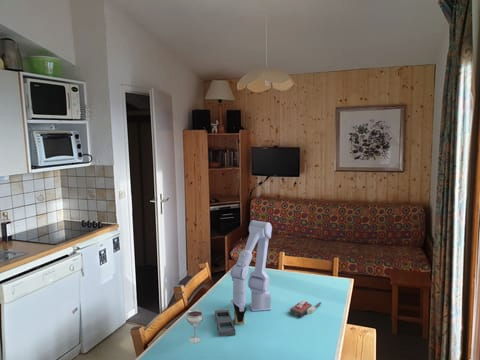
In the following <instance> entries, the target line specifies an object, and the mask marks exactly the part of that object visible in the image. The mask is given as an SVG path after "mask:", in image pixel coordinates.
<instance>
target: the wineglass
mask: <svg viewBox="0 0 480 360" xmlns="http://www.w3.org/2000/svg"><path fill="white" fill-rule="evenodd" d="M203 313H204V312H203V311H202V310H201V309H199V308H198V309H195V308H194V309H189V310H188V311H187V312H186V314H187V316H186V321H187V324H189V325H190V326H193V331H194V332H193V333H194V336H192V337H190V338H189V343H191V344H197V342H198V343H200V342H201V341H200V338H201V337H200V336H196V334H197V333H196V331H197V326H198V325H200V324H201V323H202V322H203V319H204V317H203ZM199 341H200V342H199Z"/></svg>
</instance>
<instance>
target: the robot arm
mask: <svg viewBox="0 0 480 360" xmlns="http://www.w3.org/2000/svg"><path fill="white" fill-rule="evenodd" d="M272 231H273V226H272V224H271V223H270V222H267V221H259V220H255V219H252V220H251V221H250V222H249V226H248V232H249V235H248V238H247V242H246V245H245V248H244V250H241V252H240V254H239V256H238V259H237V261H236V263H235V264H234V265H233V266H232V267H231V269H230V276H231V281H232V282H233V283H232V299H230V304H232V305H233V309H234V310H235V311H236V314H237V320H238V322H243V318H244V319H245V314H246V313H247V311H248V307H245V305H246V303H247V299H246V298H247V297H246V291H247V290H246V286H247V287H248V288H249V289H250V290H249V291H251V292H250V293H251V298H250V300H251V302H250V303H249V306H250V309H251V311H252V312H260V311H271V310H272V308H271V306H272V305H271V301H272V299H271V297H272V296H271V291H270V286H271V283H270V276H269V275H268V273H267V272H266V264H267V256H268V247H269V242H270V241H269V239H272ZM256 244H257V247H256V248H257V249H256V256H255V258H256V259H255V265H254V271H251V273H249V270H250V267H249V266H250V264H251V261H252V258H253V254H252V253H253V250H254V249H255V246H256ZM248 275H249V278H248ZM247 278H248V280H247ZM246 280H247V281H246ZM246 282H247V283H246ZM246 284H247V285H246Z"/></svg>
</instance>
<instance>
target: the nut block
mask: <svg viewBox="0 0 480 360" xmlns="http://www.w3.org/2000/svg"><path fill="white" fill-rule="evenodd" d="M233 311H234V314H233V315H234V318H233V322H234V325H244V324H245V317H244V318H243V322H238V320H237V314H236V311H235V309H234V310H233Z"/></svg>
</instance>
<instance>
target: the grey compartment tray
mask: <svg viewBox="0 0 480 360" xmlns="http://www.w3.org/2000/svg"><path fill="white" fill-rule="evenodd" d="M214 317H215V321H216V322H215V323H216V327H217V332H218V336H219V337H228V336H229V337H230V336H236V329H235V327H236V326H235V323H234V320H233V318H232V314H231V312H230V309H218V310H217V309H216V310H214ZM226 327H228V328H226ZM229 327H231V328H229Z"/></svg>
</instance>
